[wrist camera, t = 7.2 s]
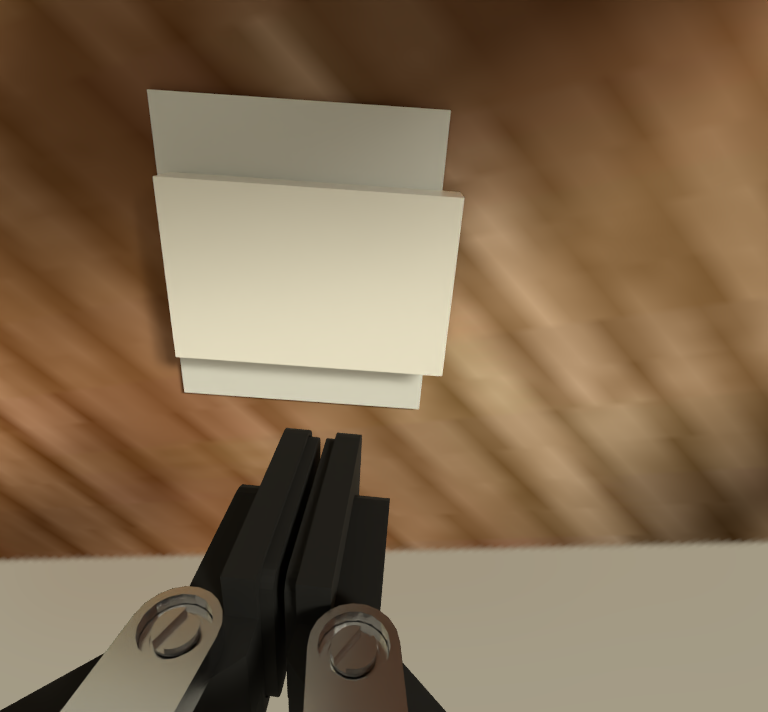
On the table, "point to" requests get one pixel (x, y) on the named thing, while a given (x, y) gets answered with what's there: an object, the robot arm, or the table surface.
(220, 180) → the glazed tile
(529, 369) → the table surface
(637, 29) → the table surface
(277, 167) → the mat
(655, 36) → the table surface
